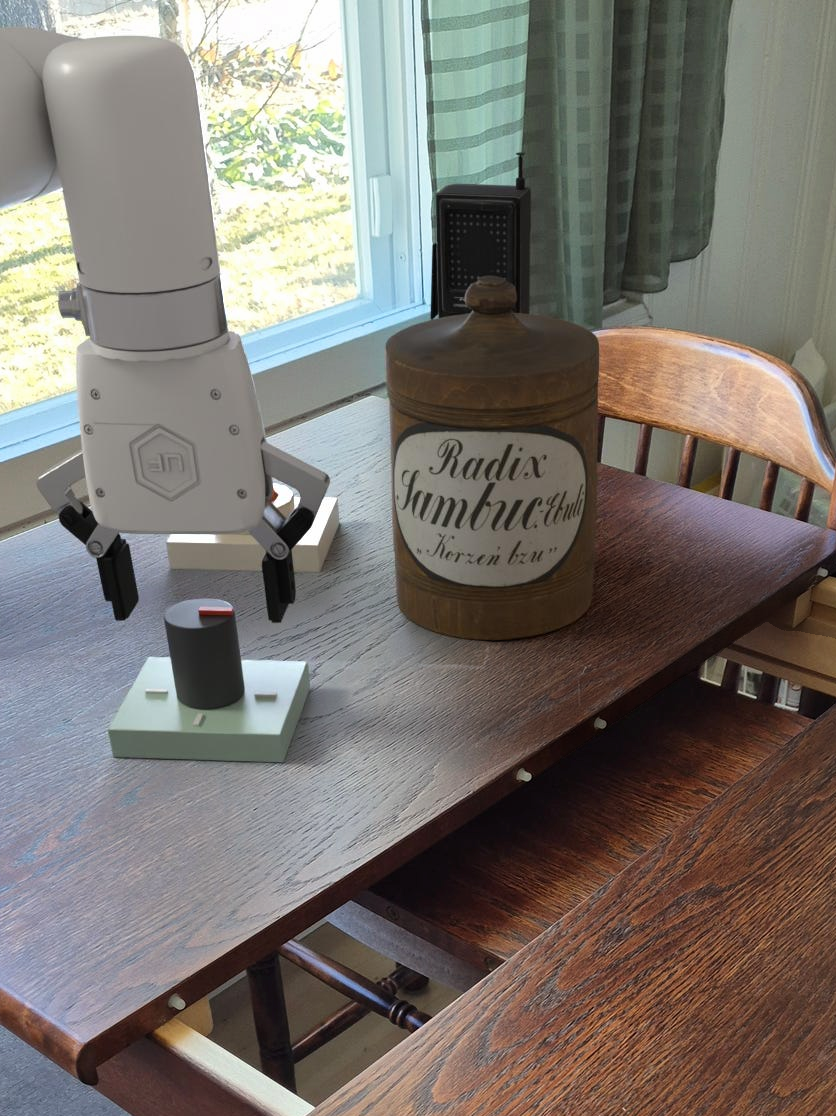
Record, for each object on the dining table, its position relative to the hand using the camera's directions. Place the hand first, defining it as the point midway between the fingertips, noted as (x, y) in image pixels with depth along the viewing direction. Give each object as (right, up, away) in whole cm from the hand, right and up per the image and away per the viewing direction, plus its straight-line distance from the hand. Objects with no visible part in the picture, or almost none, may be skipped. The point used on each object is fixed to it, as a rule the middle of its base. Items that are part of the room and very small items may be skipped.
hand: (203, 612), depth 89 cm
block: (-1, +13, +27) cm, 30 cm away
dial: (0, -4, +4) cm, 6 cm away
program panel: (0, -6, +5) cm, 8 cm away
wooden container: (+18, +6, +19) cm, 27 cm away
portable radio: (+17, +22, +37) cm, 47 cm away
